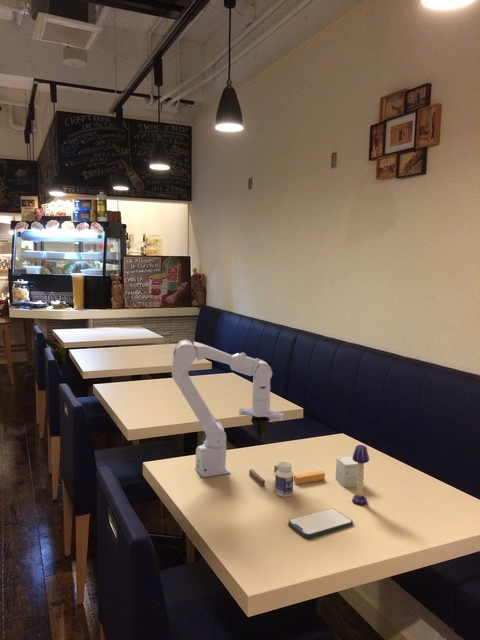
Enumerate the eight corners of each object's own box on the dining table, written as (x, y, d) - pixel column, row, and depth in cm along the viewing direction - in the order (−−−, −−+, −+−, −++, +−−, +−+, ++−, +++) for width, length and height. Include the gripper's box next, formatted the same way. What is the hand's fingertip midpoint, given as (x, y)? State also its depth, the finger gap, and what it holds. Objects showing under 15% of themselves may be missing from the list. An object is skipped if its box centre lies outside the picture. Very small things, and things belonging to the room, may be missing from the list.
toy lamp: (363, 507, 145) (366, 450, 143) (347, 503, 147) (350, 446, 145) (369, 501, 149) (372, 445, 147) (353, 496, 151) (356, 442, 149)
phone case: (332, 512, 142) (285, 525, 134) (333, 507, 142) (286, 519, 134) (355, 527, 135) (306, 542, 127) (355, 521, 135) (307, 535, 127)
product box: (343, 487, 157) (345, 464, 156) (334, 479, 163) (336, 457, 162) (361, 486, 159) (363, 463, 158) (352, 477, 164) (353, 455, 164)
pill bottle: (286, 498, 149) (288, 469, 148) (271, 493, 152) (272, 464, 151) (295, 492, 153) (297, 463, 152) (280, 487, 156) (281, 459, 155)
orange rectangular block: (296, 484, 158) (297, 477, 158) (293, 481, 160) (293, 475, 159) (324, 479, 162) (324, 473, 162) (321, 476, 164) (321, 470, 163)
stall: (261, 487, 156) (261, 481, 155) (249, 475, 164) (249, 469, 164) (290, 482, 160) (290, 476, 159) (276, 471, 168) (277, 465, 168)
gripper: (235, 398, 165) (235, 439, 167) (278, 403, 160) (277, 445, 161) (243, 393, 172) (243, 432, 173) (285, 398, 166) (284, 438, 168)
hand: (260, 438), depth 168 cm, fingers closed
